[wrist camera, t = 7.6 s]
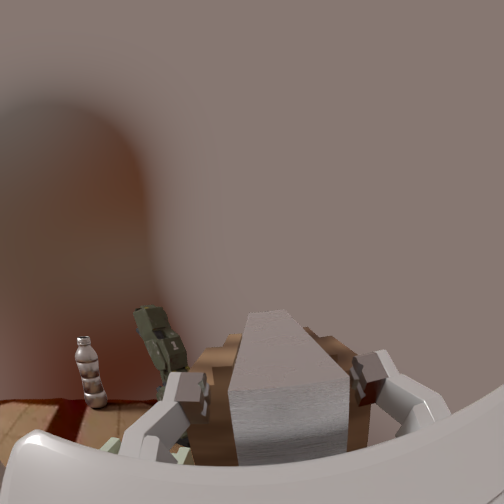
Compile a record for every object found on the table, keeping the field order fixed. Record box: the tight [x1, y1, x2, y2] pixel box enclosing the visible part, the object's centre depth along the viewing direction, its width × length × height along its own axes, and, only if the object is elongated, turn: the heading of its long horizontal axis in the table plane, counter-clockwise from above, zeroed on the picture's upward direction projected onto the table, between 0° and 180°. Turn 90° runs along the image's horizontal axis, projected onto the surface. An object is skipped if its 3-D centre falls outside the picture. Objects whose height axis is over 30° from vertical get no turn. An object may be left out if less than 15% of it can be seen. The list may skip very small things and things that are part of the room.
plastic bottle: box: [75, 337, 107, 408], centre depth 56 cm, size 6×7×20 cm
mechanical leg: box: [133, 305, 190, 448], centre depth 48 cm, size 14×7×30 cm, turn 54°
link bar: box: [228, 310, 350, 466], centre depth 16 cm, size 19×4×3 cm, turn 179°
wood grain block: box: [186, 327, 371, 466], centre depth 18 cm, size 10×12×27 cm
